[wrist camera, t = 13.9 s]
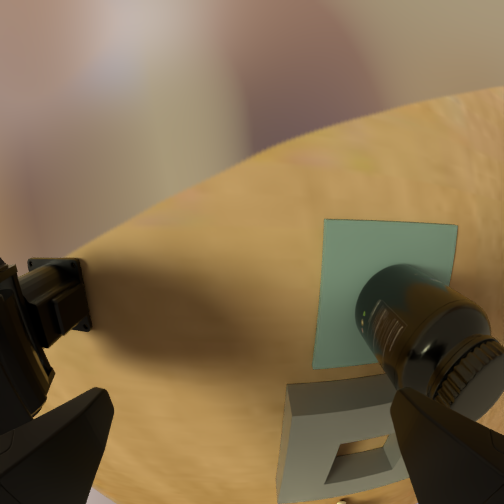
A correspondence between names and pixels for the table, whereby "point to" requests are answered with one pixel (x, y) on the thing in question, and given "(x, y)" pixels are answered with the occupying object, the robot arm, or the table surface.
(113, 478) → the table surface
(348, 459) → the pocket holder
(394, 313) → the supplement bottle
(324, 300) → the mat
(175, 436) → the table surface
